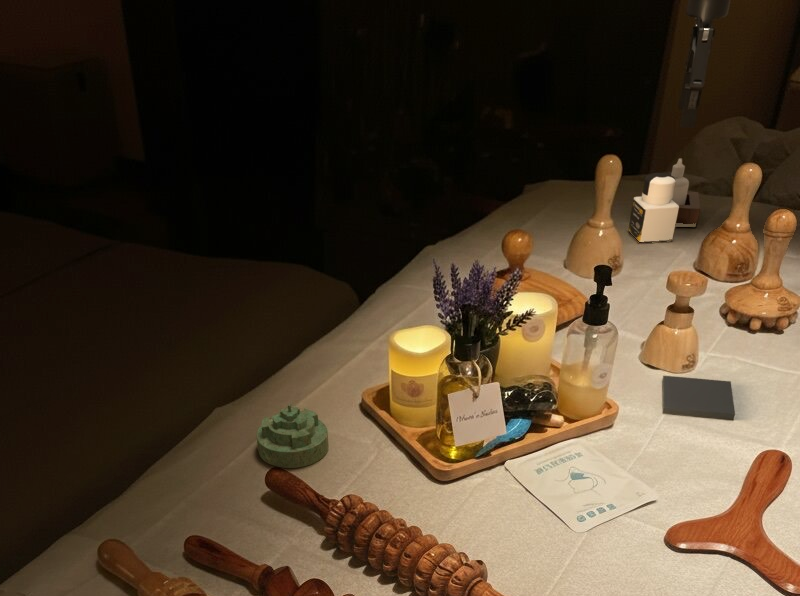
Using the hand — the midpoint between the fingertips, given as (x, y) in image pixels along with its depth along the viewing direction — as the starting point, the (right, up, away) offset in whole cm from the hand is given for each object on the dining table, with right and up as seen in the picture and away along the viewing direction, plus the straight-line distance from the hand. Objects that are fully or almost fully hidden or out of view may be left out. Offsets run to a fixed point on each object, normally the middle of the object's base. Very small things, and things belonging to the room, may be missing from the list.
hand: (685, 118), depth 175 cm
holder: (+2, -14, +14) cm, 20 cm away
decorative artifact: (-75, -75, -51) cm, 118 cm away
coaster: (-14, -67, -44) cm, 81 cm away
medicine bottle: (-5, -21, +6) cm, 23 cm away
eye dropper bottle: (+2, -14, +14) cm, 20 cm away
